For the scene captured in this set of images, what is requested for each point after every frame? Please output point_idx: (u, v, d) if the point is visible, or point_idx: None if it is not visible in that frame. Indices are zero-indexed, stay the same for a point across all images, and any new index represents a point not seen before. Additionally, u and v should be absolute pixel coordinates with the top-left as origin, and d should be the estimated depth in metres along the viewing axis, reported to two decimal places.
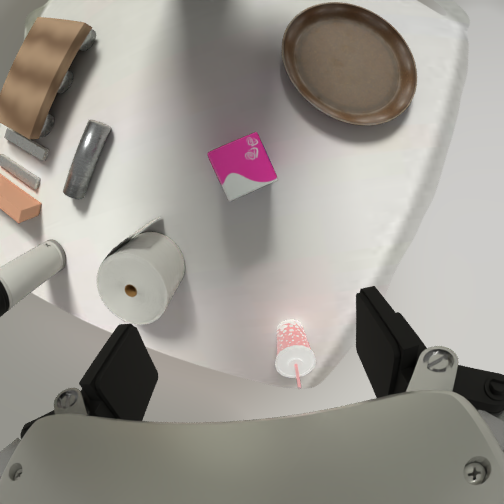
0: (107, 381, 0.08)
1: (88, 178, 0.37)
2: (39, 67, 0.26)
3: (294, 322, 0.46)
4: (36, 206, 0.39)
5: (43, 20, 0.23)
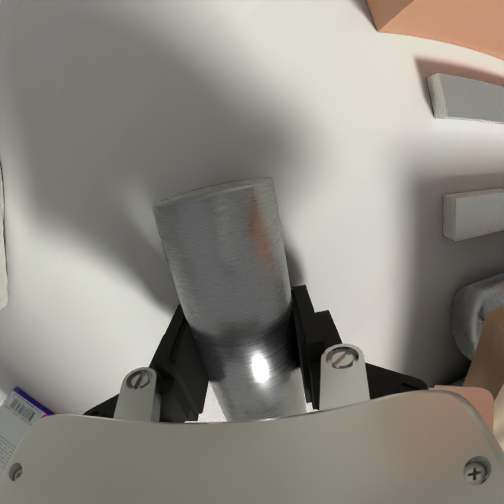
0: (181, 357, 0.09)
1: None
2: None
3: None
4: (388, 14, 0.07)
5: None
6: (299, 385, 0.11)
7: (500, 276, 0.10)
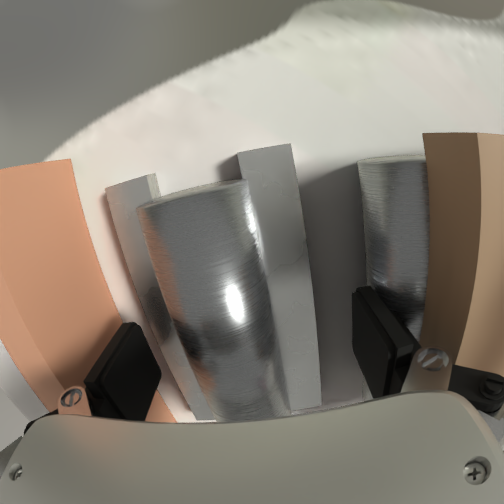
0: (111, 379, 0.08)
1: None
2: None
3: None
4: None
5: None
6: (278, 381, 0.11)
7: None
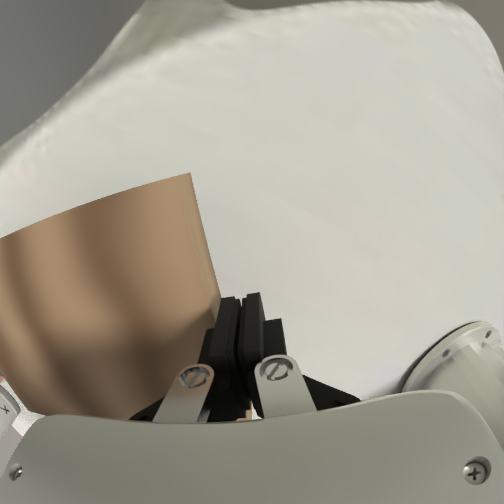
0: (235, 351, 0.09)
1: None
2: (86, 380, 0.13)
3: None
4: (2, 378, 0.22)
5: (177, 246, 0.10)
6: None
7: None
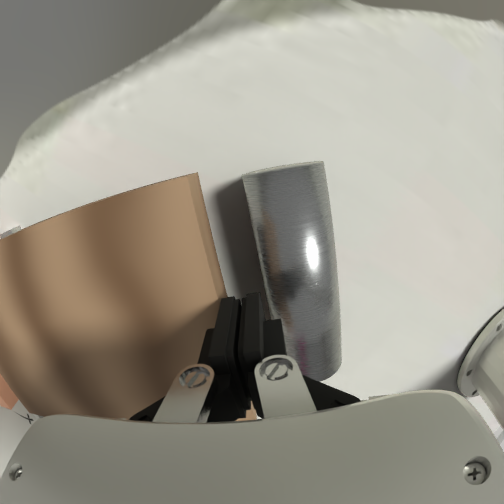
0: (235, 351, 0.09)
1: None
2: (91, 380, 0.13)
3: None
4: None
5: (188, 245, 0.11)
6: None
7: None
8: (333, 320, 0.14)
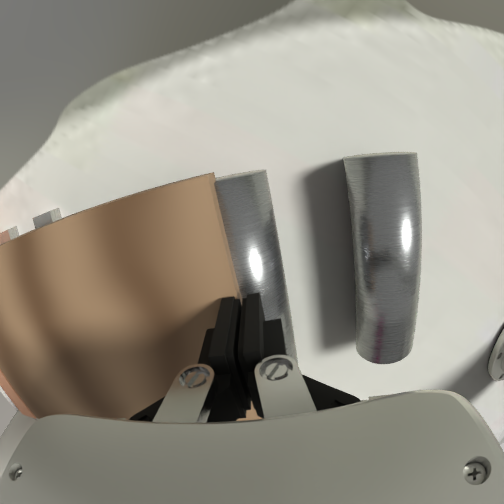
0: (235, 352, 0.09)
1: None
2: (104, 383, 0.13)
3: None
4: None
5: (208, 244, 0.11)
6: None
7: None
8: (417, 299, 0.14)
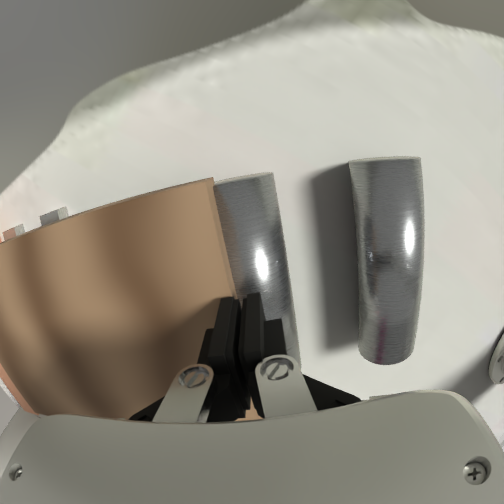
0: (234, 351, 0.09)
1: None
2: (102, 380, 0.13)
3: None
4: None
5: (205, 249, 0.11)
6: None
7: None
8: (419, 301, 0.14)
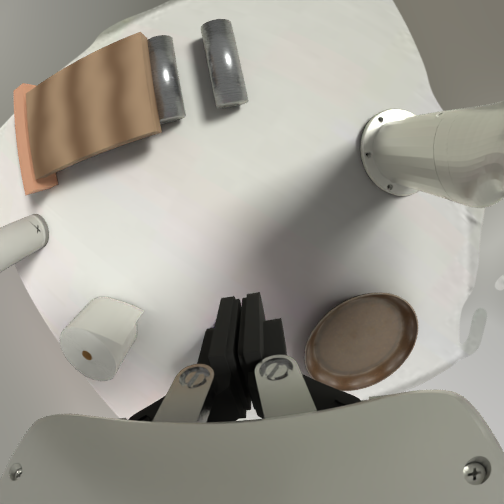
0: (235, 351, 0.09)
1: None
2: (86, 118, 0.27)
3: None
4: (51, 186, 0.35)
5: (137, 49, 0.25)
6: None
7: None
8: (235, 69, 0.28)
